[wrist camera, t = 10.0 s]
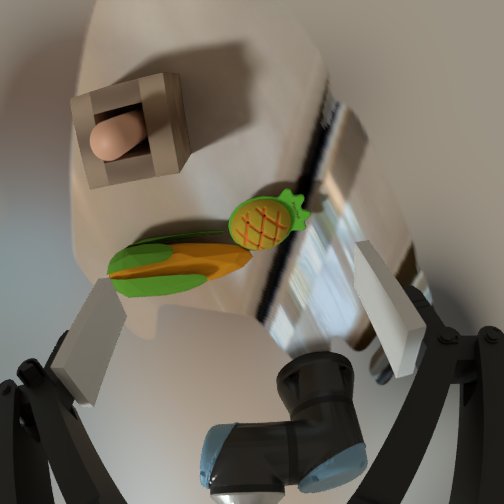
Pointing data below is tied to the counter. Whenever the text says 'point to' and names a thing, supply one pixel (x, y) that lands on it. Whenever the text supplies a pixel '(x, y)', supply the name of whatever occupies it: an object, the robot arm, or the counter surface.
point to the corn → (172, 265)
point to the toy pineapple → (267, 220)
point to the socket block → (157, 124)
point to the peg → (118, 135)
